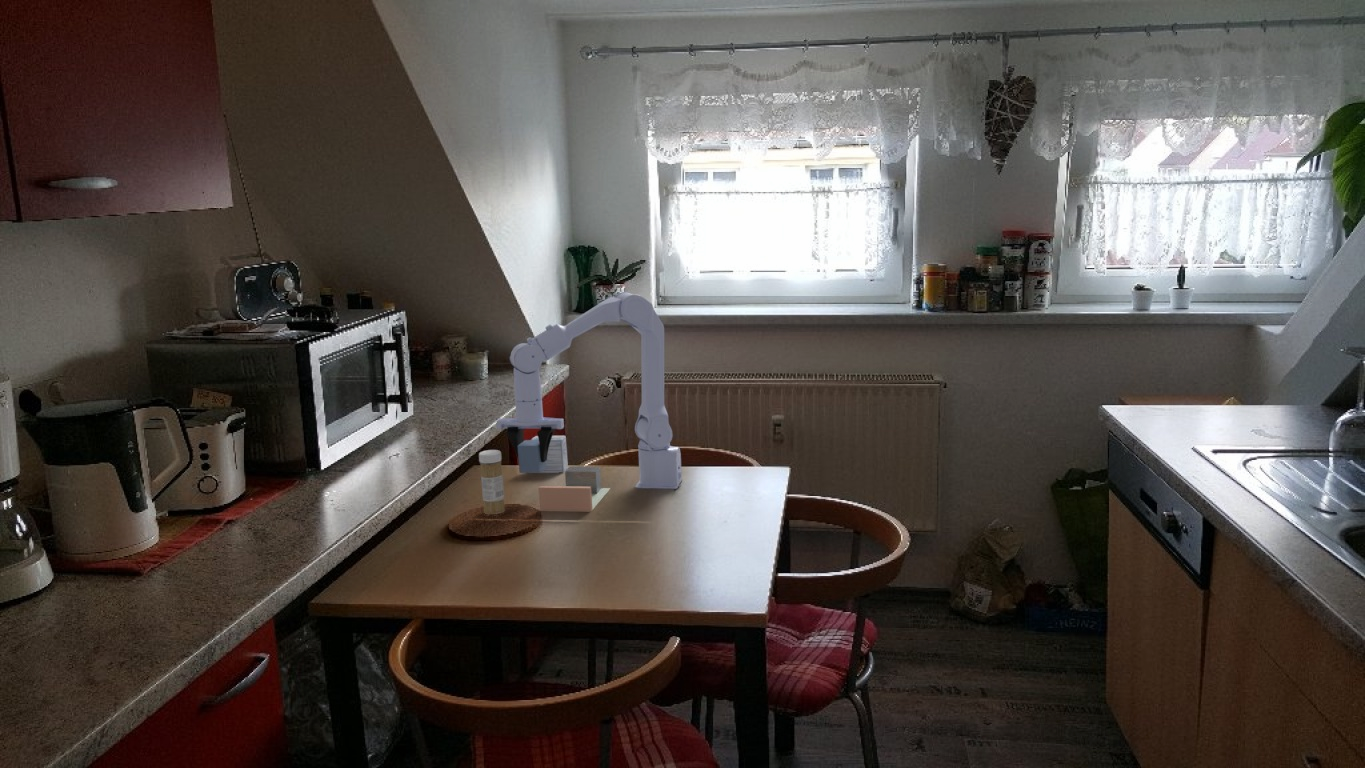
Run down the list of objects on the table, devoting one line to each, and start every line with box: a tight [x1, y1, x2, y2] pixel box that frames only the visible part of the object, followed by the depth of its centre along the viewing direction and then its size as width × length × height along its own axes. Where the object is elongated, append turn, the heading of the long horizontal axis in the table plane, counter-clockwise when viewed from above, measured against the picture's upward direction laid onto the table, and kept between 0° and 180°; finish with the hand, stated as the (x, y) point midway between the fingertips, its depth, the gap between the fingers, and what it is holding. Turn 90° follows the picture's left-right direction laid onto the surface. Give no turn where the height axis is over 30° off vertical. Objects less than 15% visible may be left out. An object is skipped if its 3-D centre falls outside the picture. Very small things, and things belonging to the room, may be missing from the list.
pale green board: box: [538, 485, 611, 513], centre depth 211 cm, size 11×17×5 cm, turn 170°
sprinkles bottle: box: [478, 449, 506, 515], centre depth 203 cm, size 5×5×14 cm
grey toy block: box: [564, 466, 602, 494], centre depth 217 cm, size 7×4×5 cm, turn 80°
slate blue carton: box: [517, 439, 547, 474], centre depth 212 cm, size 4×5×6 cm
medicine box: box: [530, 435, 569, 474], centre depth 236 cm, size 8×4×9 cm, turn 84°
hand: (532, 461), depth 212 cm, fingers closed on slate blue carton, 4 cm apart
